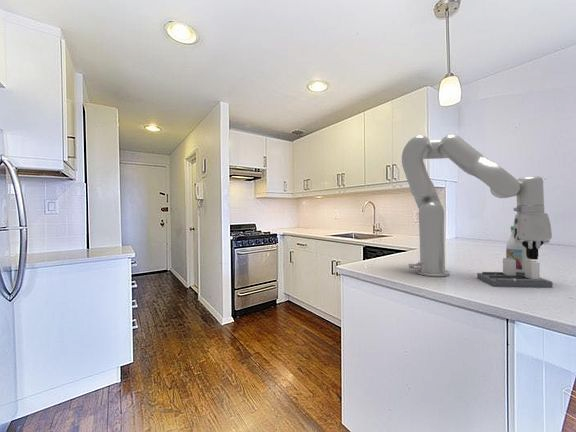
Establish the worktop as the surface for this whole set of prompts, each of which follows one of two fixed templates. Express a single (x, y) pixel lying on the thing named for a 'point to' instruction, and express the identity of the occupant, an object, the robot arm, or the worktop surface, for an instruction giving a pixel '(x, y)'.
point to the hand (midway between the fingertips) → (532, 258)
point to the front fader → (532, 269)
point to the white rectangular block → (509, 266)
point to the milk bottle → (516, 253)
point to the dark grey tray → (512, 280)
